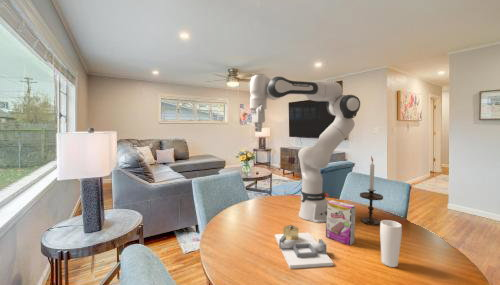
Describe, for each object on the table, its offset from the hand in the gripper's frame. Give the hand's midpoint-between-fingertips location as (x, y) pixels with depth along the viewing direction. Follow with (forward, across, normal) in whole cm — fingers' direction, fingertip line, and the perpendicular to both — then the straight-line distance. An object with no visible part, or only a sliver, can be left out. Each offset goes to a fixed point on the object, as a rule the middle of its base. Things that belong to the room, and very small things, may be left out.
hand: (258, 131), depth 123 cm
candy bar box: (+48, -28, -32) cm, 64 cm away
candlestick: (+48, -11, -58) cm, 76 cm away
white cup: (+48, -47, -41) cm, 79 cm away
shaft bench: (+48, -34, -12) cm, 60 cm away
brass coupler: (+46, -27, -10) cm, 54 cm away
